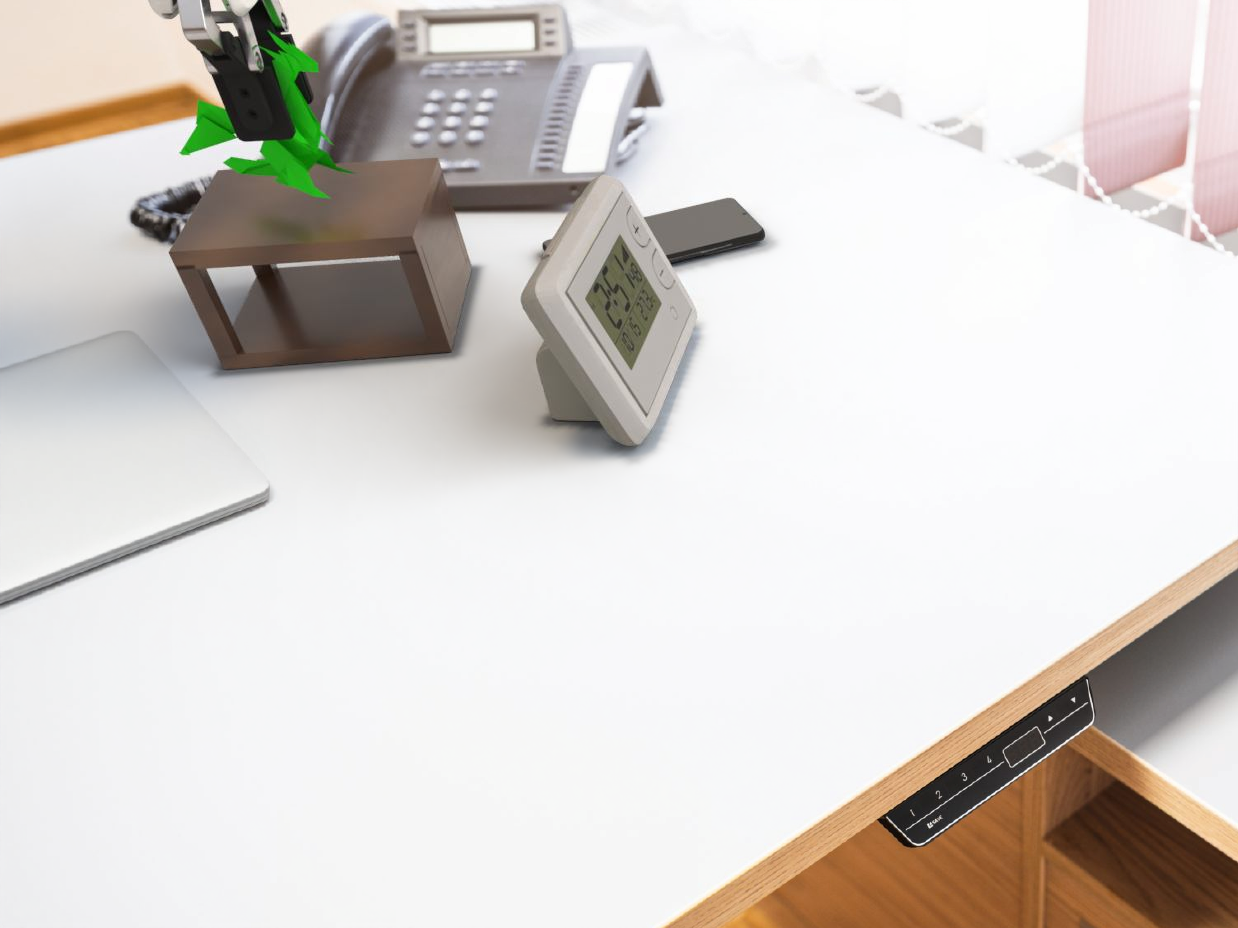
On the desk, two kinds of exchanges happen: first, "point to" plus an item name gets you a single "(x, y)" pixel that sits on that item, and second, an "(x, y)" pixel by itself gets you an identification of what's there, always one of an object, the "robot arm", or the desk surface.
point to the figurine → (281, 155)
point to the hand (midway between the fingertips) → (277, 117)
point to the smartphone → (702, 229)
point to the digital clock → (608, 315)
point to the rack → (335, 293)
